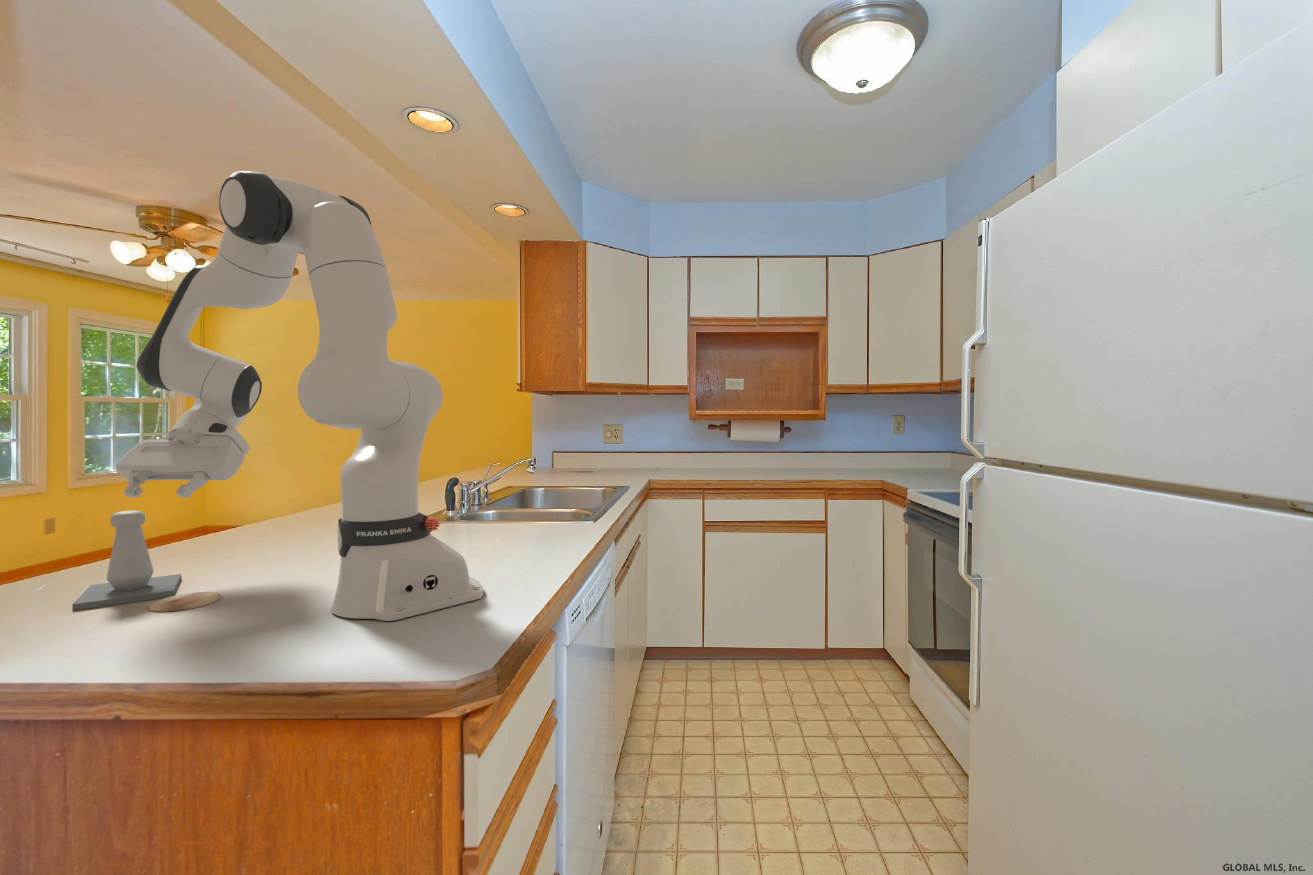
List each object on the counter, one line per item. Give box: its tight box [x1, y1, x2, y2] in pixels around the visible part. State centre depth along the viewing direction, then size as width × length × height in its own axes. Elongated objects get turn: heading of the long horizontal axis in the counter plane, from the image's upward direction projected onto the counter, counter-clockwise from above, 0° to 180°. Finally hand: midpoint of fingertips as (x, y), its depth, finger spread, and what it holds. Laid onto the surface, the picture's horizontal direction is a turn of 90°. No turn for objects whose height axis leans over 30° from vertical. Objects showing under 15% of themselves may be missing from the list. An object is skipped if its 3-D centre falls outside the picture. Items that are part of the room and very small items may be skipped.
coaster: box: [148, 591, 222, 613], centre depth 93 cm, size 9×9×1 cm
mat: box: [71, 573, 182, 611], centre depth 97 cm, size 12×12×1 cm
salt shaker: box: [106, 510, 154, 592], centre depth 97 cm, size 6×6×13 cm
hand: (156, 495), depth 102 cm, fingers open, 8 cm apart
